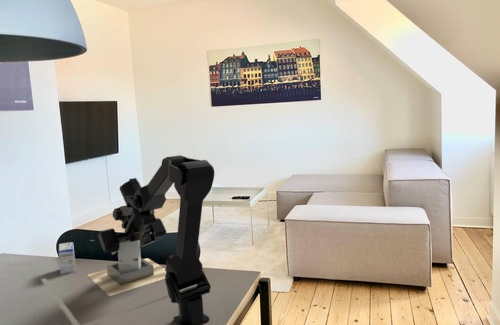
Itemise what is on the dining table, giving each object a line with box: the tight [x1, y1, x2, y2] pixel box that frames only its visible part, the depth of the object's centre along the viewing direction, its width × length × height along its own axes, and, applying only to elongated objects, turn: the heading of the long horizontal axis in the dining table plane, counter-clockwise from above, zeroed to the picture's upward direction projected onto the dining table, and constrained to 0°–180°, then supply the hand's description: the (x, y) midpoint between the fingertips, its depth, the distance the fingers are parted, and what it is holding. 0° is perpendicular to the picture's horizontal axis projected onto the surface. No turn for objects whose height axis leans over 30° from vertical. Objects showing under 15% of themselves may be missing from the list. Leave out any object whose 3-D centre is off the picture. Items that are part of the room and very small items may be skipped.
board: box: [87, 258, 166, 297], centre depth 122 cm, size 20×20×1 cm
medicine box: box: [58, 241, 77, 275], centre depth 129 cm, size 8×4×9 cm, turn 25°
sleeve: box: [106, 257, 154, 285], centre depth 122 cm, size 10×10×3 cm
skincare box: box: [117, 240, 142, 273], centre depth 121 cm, size 6×4×12 cm
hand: (127, 249), depth 121 cm, fingers open, 9 cm apart
